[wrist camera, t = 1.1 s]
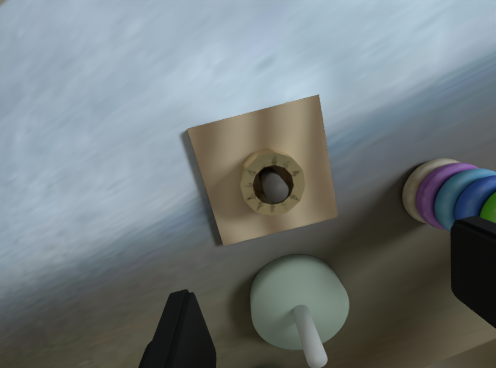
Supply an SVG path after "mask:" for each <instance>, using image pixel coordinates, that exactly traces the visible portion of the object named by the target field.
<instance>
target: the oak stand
mask: <svg viewBox="0 0 496 368" xmlns="http://www.w3.org/2000/svg"><path fill="white" fill-rule="evenodd" d="M187 130H188V133H189V137H190V140H191V143H192V146H193V149H194V153H195V156H196V159H197V162H198V165H199V169H200V172H201V175H202V178H203V181H204V185H205V188H206V191H207V194H208V197H209V201H210V204H211V207H212V210H213V213H214V217H215V220H216V223H217V226H218V230H219V233H220V236H221V239H222V242H223V246H225V245H229V244H233V243H237V242H241V241H245V240H249V239H253V238H257V237H261V236H265V235H269V234H273V233H277V232H281V231H285V230H289V229H293V228H297V227H301V226H305V225H309V224H313V223H317V222H321V221H325V220H329V219H333V218H337V217H338V213H337V207H336V200H335V194H334V187H333V181H332V175H331V168H330V162H329V156H328V149H327V143H326V136H325V130H324V124H323V117H322V111H321V105H320V98H319V95H315V96H311V97H308V98H304V99H300V100H296V101H292V102H288V103H284V104H281V105H277V106H273V107H269V108H265V109H261V110H257V111H254V112H250V113H246V114H242V115H238V116H234V117H231V118H227V119H223V120H219V121H215V122H211V123H207V124H204V125H200V126H196V127H192V128H188V129H187ZM266 148H272V149H275V150H279V151H282V152H284V153H286V154H287V155H289V156H291V157H292V158H293V159H294V160H295V161H296V163H297V164H298V165H299V166H300V167H301V168H302V169H303V173H304V179H305V184H306V186H305V189H304V192H303V195H302V198H301V200H300V202H299V203H297V204H296V205H295V206H294V207H293V208H292V209H291V210H290V211H289V212H286V213H282V214H278V215H274V216H269V215H265V214H261V213H257V212H255V211H254V210H253V209H252V208H251V207H250V206H249V205H248V204H247V203H246V202H245V201H244V197H243V194H242V190H241V186H240V173H241V169H242V166H243V162H244V161H245V160H246V159H247V158H248V157H249V156H250V155H251V154H252V153H253V152H254V151H258V150H262V149H266ZM284 178H285V173H284V168H283V167H281V166H277V165H271V166H267V167H263V168H262V169H261V170H260V171H259V172H258V173H257V174H256V175H255V178H254V182H253V186H254V187H255V188H256V189H257V190H258V191H262V192H265V195H266V197H267V198H268V199H269V200H270V201H272V202H276V203H277V202H281V201H283V200H284V199H285V198H286V197H287V195H288V187H287V185H286V183H285V182H284Z"/></svg>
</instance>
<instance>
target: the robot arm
mask: <svg viewBox="0 0 496 368" xmlns="http://www.w3.org/2000/svg"><path fill="white" fill-rule="evenodd" d="M450 234H451V289H452V292H453V293H454V295H455V296H456V297H457V298H458V299H459V300H460V301H461V302H463V303H464V304H465V305H466V306H468V307H469V308H470V309H471V310H473V311H474V312H475V313H477V314H478V315H479V316H480V317H482V318H483V319H484V320H485V321H487V322H488V323H489V324H491V325H492V326H493V327H494V328H496V223H494V222H492V221H489V220H486V219H484V218H481V217H478V216H470V217H466V218H462V219H459V220H456V221H455V222H454V223H453V226H452V227H451V230H450ZM138 368H216V351H215V347H214V344H213V342H212V339H211V336H210V334H209V331H208V328H207V326H206V323H205V320H204V318H203V315H202V312H201V310H200V307H199V304H198V302H197V299H196V296H195V294H194V293H193V292H191V293H189V291H188V290H187V289H185V290H181V291H177V292H174V293H171V294H170V295H169V297H168V300H167V302H166V305H165V308H164V311H163V313H162V316H161V319H160V321H159V324H158V327H157V329H156V332H155V335H154V337H153V340H152V341H151V342H150V343H149V344H148V345H147V347H146V349H145V352H144V354H143V357H142V359H141V362H140V365H139V367H138Z"/></svg>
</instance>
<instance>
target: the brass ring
mask: <svg viewBox="0 0 496 368" xmlns="http://www.w3.org/2000/svg"><path fill="white" fill-rule="evenodd" d="M271 165H277V166H281V167H283V168H284V173H285V178H284V182H285V183H286V185H287V187H288V195H287V197H286V198H285V199H284V200H283V201H281V202H277V203H276V202H272V201H270V200H269V199H268V198H267V197H266V195H265V192H262V191H258V190H257V189H256V188H255V187H254V186H253V182H254V178H255V175H256V174H257V173H258V172H259V171H260V170H261V169H262V168H263V167H267V166H271ZM240 186H241V190H242V194H243V197H244V201H245V202H246V203H247V204H248V205H249V206H250V207H251V208H252V209H253V210H254V211H255V212H257V213H261V214H265V215H269V216H274V215H278V214H282V213H286V212H289V211H290V210H291V209H292V208H293V207H294V206H295V205H296V204H297V203H299V202H300V200H301V198H302V195H303V192H304V189H305V186H306V184H305V179H304V173H303V169H302V168H301V167H300V166H299V165H298V164H297V163H296V161H295V160H294V159H293V158H292V157H291V156H289V155H287V154H286V153H284V152H282V151H279V150H275V149H272V148H266V149H262V150H258V151H254V152H253V153H252V154H251V155H250V156H249V157H248V158H247V159H246V160H245V161H244V162H243V166H242V169H241V173H240Z"/></svg>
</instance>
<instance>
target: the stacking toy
mask: <svg viewBox="0 0 496 368" xmlns="http://www.w3.org/2000/svg"><path fill="white" fill-rule="evenodd" d="M402 198H403V204H404V207H405V209H406V210H407V212H408V213H409V214H410V216H412V217H413V218H414V219H416V220H418V221H420V222H422V223H426V224H430V225H432V226H434V227H436V228H440V229H446V230H448V231H450V230H451V227H452V226H453V223H454V222H455V221H456V220H459V219H462V218H466V217H470V216H478V217H481V218H484V219H486V220H489V221H492V222H494V223H496V172H494V171H492V170H488V169H481V168H478V167H476V166H474V165H471V164H467V163H460V162H458V161H456V160H453V159H446V158H443V159H435V160H431V161H428V162H426V163H424V164H422V165H421V166H419V167H418V168H417V169H416V170H415V171H414V172H413V173H412V174H411V175H410V176H409V178H408V180H407V181H406V183H405V186H404V189H403V194H402Z"/></svg>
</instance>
